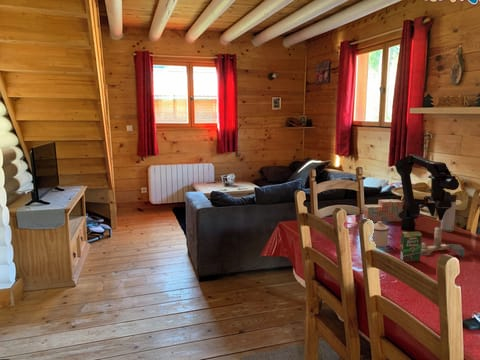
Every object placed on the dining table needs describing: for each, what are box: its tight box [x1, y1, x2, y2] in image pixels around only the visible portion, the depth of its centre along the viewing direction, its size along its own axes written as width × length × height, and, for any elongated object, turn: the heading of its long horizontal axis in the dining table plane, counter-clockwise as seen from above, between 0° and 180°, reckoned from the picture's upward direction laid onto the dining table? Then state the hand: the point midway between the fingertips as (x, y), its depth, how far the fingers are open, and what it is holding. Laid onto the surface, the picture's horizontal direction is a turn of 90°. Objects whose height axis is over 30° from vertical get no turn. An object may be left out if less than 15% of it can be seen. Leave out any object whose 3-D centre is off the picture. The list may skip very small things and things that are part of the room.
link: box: [421, 227, 449, 254], centre depth 171 cm, size 16×5×10 cm, turn 107°
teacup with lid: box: [372, 221, 390, 248], centre depth 182 cm, size 12×9×12 cm
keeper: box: [446, 243, 466, 259], centre depth 167 cm, size 5×6×4 cm
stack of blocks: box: [362, 198, 404, 223], centre depth 221 cm, size 21×6×12 cm, turn 93°
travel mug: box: [440, 194, 458, 233], centre depth 200 cm, size 6×7×20 cm
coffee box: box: [399, 231, 423, 263], centre depth 161 cm, size 8×3×13 cm, turn 90°
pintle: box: [420, 241, 432, 256], centre depth 170 cm, size 6×6×5 cm
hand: (436, 218), depth 184 cm, fingers open, 9 cm apart
